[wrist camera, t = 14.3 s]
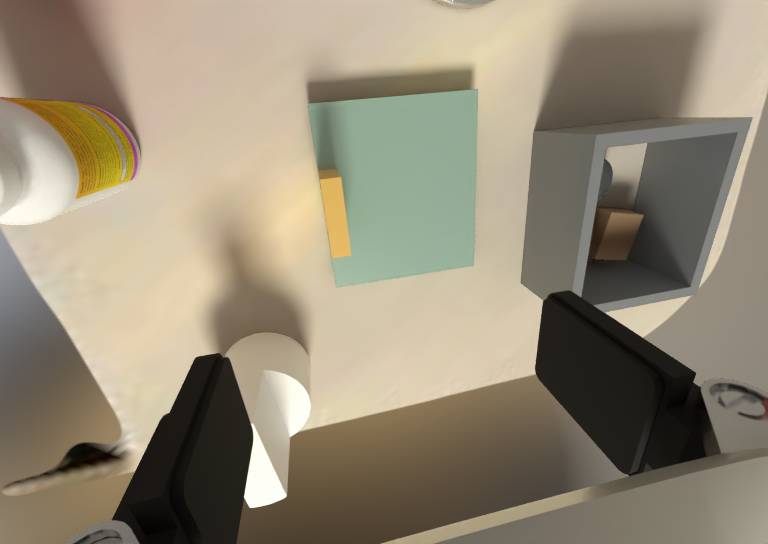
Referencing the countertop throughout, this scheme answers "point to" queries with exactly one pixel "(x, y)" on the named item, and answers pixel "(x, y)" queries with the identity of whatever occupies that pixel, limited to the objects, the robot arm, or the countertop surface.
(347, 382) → the countertop surface
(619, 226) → the walnut block
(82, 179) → the supplement bottle
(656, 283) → the tub
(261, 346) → the cylinder with rectangular tab
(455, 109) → the door
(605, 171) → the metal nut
